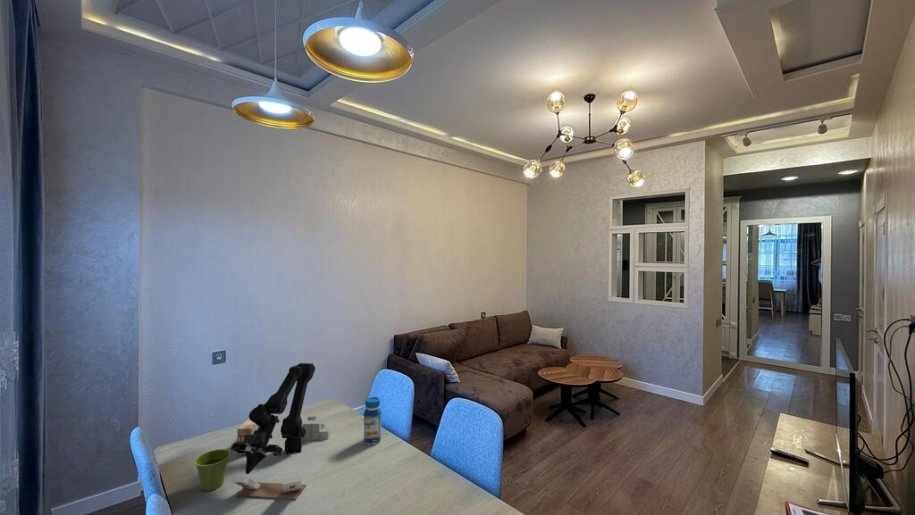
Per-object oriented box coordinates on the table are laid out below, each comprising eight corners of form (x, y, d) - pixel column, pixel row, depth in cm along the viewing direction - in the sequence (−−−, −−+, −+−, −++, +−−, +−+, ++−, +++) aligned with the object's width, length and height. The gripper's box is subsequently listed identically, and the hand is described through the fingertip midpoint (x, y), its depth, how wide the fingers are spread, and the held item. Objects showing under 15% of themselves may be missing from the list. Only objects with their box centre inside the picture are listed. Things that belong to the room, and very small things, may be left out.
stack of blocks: (259, 432, 189) (259, 408, 189) (272, 432, 189) (272, 407, 189) (237, 455, 168) (237, 428, 167) (251, 455, 168) (251, 427, 168)
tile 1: (283, 488, 142) (283, 479, 135) (301, 484, 144) (301, 475, 137) (283, 494, 141) (282, 485, 133) (301, 490, 143) (301, 481, 136)
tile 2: (246, 483, 145) (231, 475, 137) (260, 484, 144) (246, 476, 136) (243, 489, 143) (228, 482, 136) (258, 490, 143) (243, 483, 135)
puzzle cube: (328, 439, 182) (328, 423, 182) (302, 440, 181) (302, 424, 181) (333, 427, 194) (333, 412, 194) (309, 428, 193) (309, 413, 193)
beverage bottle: (385, 439, 182) (385, 398, 182) (372, 447, 175) (372, 404, 175) (372, 434, 187) (372, 394, 186) (359, 442, 179) (359, 400, 179)
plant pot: (203, 499, 138) (203, 469, 138) (188, 488, 144) (188, 459, 144) (237, 482, 148) (236, 454, 148) (221, 473, 154) (221, 445, 154)
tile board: (249, 483, 148) (249, 481, 147) (306, 486, 146) (306, 484, 146) (235, 496, 140) (235, 495, 140) (295, 499, 138) (295, 498, 138)
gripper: (233, 421, 147) (212, 465, 136) (278, 424, 144) (259, 469, 134) (247, 431, 155) (228, 474, 144) (289, 434, 152) (273, 478, 142)
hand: (246, 473), depth 141 cm, fingers closed
